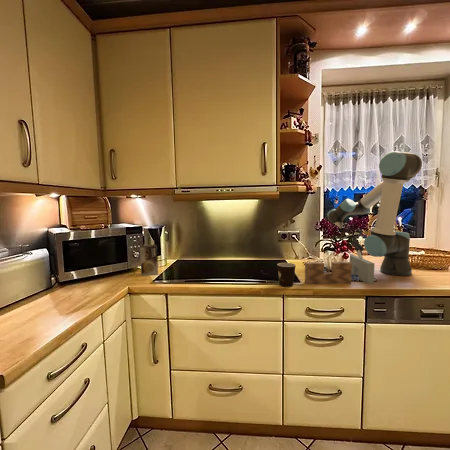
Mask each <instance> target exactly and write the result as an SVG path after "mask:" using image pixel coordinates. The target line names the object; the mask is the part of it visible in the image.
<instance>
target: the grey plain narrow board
mask: <svg viewBox="0 0 450 450" xmlns="http://www.w3.org/2000/svg"><path fill="white" fill-rule="evenodd" d="M349 254H350V263H352V269H351V274H353V275H358V276H357V278H360V279H361V280H360V279H359V280H360V281H362V280H363V281H362V282H364V283H365V284H368V285H371V284H372V285H373V284H375V263H374V262H372V261H369V260H367V259H365V258H363V259H362V258H360V257H358V255H354V254H352V253H349ZM353 275H352V276H353Z"/></svg>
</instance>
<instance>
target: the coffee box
mask: <svg viewBox="0 0 450 450" xmlns="http://www.w3.org/2000/svg"><path fill="white" fill-rule="evenodd" d="M139 254H140V255H139V256H140V257H139V258H140V273H141V274H140V276H141V277H145V276H154V275H158V274H159V270H158V269H159V268H158V246H157V244H144V245H143V244H142V245H141V244H140V245H139Z"/></svg>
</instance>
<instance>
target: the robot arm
mask: <svg viewBox="0 0 450 450" xmlns="http://www.w3.org/2000/svg"><path fill="white" fill-rule="evenodd" d="M422 167H423V160H422V158H421V157H420V156H419V155H418V154H416V153H414V152H405V151H390V152H388V153H386V154H385V155H383V157H382V158H381V159H380V161H379V164H378V169H379V172H380V174H381V180H382V181H381V182H379V184H377V185H376V186H375V187H373V188H372V189H371V190H370V191H369V192H368V193H366V194H365V195H364V196H363V197H362V198H360V199H359V200H358V201H357V202H355V201H354V200H352V199H350V198H345V199H344V200H343V201H342V202H341V203H340V204H339V205H338V206H337V207H336V208H332V209H331V210H329V211H328V212H327V213H326V215H327V219H328V222H329V221H330V222H332V223H333V224H335V225H337V226H338V227H339V229H340V230H341V229H342V227H343V225H344V226H345V224H344V220H345V218H347V217H348V216H351V215H352V216H353V215H366V214H368V213H369V212H370V210H371V208H372V207H373V206H374V205H376V204H377V203H379V205H378V210H377V215H376V221H375V226H374V227H373V228H371V229H370V233H369V235H367V236H366V237H365V239H364V242H363V245H361V244H360V243H359V242H358V241H357V239H356V238H355V237H354V236H353V235H352V236H351V237H352V242H351V244H352V245H353V246H354V247H355V250H354V251H355V252H356V256H357V257H360V258H362V259H364V257H363V251H364V249H365V250H366V252H367V254H368V255H370V256H372V257H375V258H377V257H378V258H380V257H383V259H382V261H381V265H380V266H379V271H380V272H381V273H383V274H387V275H392V276H400V277H401V276H404V277H405V276H411V275H413V274H412V273H413V270H412V267H411V264H410V261H409V257H410V241H411V239H410V238H411V237H410V236H411V235H410V233H408V232H405V231H396V230H395V225H396V224H395V223H396V219H397V214H398V210H399V205H400V201H401V197H402V196H401V195H402V191H403V187H404V184H405V183H407V182H409V181H410V180H411V179H413V178H414V177H416V175H418V174H419V173H420V171H421V170H422ZM341 231H342V230H341ZM342 232H343V231H342ZM330 242H331V240H330V239H329V244H328V248H329V247H331V246H332V247H333V244H332V245H331V243H330Z"/></svg>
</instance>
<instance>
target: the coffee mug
mask: <svg viewBox="0 0 450 450" xmlns="http://www.w3.org/2000/svg"><path fill="white" fill-rule="evenodd" d="M295 271H296V264H295V263H291V262H279V263H277V273H278V283H279V286H280V287H284V288H291V287H294V280H295V273H296V272H295Z"/></svg>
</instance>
